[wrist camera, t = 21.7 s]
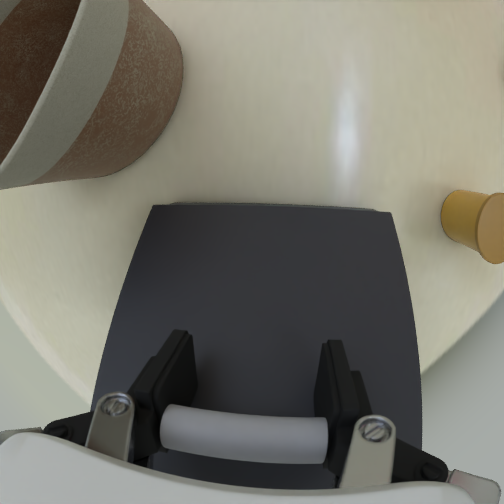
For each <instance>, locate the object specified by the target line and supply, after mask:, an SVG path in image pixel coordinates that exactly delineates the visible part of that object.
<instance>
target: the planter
mask: <svg viewBox="0 0 504 504" xmlns="http://www.w3.org/2000/svg"><path fill="white" fill-rule="evenodd" d="M182 79H183V59H182V53H181V49H180V46H179V43H178V41H177V39H176V37H175V36H174V34H173V33H172V31H171V30H170V29H169V28H168V27H167V26H166V25H165V24H164V23H163V21H162V20H161V19H160V18H159V17H158V16H157V15H156V14H155V13H154V12H153V11H152V10H151V9H150V8H149V7H148V6H147V5H146V4H145V2H144V1H143V0H0V190H2V189H8V188H14V187H20V186H27V185H34V184H41V183H49V182H57V181H66V180H75V179H85V178H96V177H102V176H106V175H110V174H112V173H115V172H117V171H119V170H121V169H123V168H125V167H127V166H128V165H130V164H131V163H133V162H134V161H135V160H136V159H138V158H139V157H140V156H141V155H142V154H143V153H144V152H145V151H146V150H147V149H148V148H149V147H150V146H151V145H152V144H153V143H154V142H155V140H156V139H157V138H158V137H159V135H160V134H161V132H162V131H163V129H164V128H165V126H166V124H167V123H168V121H169V119H170V117H171V115H172V113H173V111H174V109H175V106H176V104H177V101H178V98H179V94H180V90H181V86H182Z"/></svg>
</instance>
